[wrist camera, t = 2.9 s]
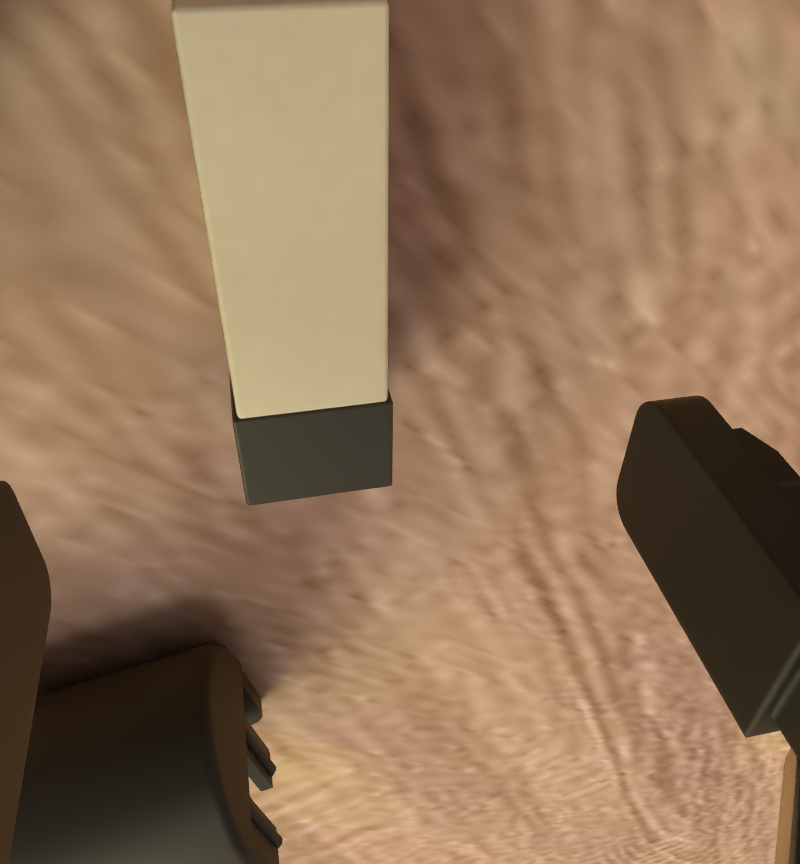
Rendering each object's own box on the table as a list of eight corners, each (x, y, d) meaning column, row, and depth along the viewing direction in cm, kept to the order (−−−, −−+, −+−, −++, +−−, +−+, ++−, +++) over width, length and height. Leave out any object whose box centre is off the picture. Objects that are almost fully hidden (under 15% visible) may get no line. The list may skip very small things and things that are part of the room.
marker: (156, -97, 12) (149, -63, 10) (358, -99, 13) (397, -68, 10) (239, 413, 19) (247, 507, 16) (367, 398, 19) (392, 486, 17)
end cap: (204, 585, 23) (209, 817, 18) (278, 700, 27) (299, 907, 22) (-123, 685, 23) (-210, 947, 18) (9, 782, 27) (-30, 1009, 22)
